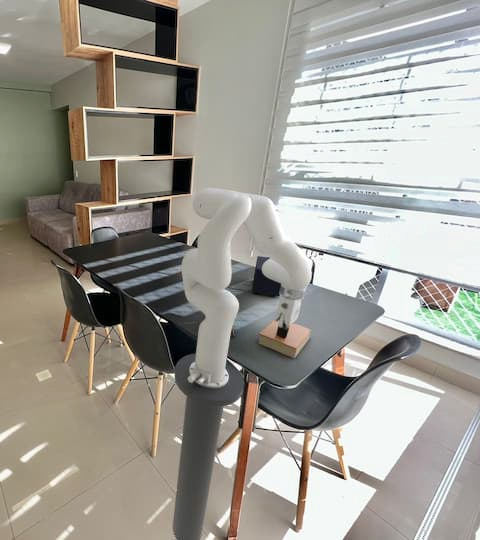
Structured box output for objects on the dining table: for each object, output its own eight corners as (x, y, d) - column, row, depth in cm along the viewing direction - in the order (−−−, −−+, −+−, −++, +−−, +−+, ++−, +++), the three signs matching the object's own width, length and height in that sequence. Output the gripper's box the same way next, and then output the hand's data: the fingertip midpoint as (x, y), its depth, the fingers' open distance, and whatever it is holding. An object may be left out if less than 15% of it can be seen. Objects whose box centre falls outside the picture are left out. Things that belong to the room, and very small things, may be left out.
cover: (296, 350, 99) (296, 348, 99) (259, 334, 108) (259, 333, 108) (311, 330, 111) (311, 329, 110) (276, 318, 119) (276, 317, 119)
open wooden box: (294, 358, 102) (296, 349, 100) (258, 343, 110) (259, 334, 109) (308, 339, 112) (311, 331, 111) (274, 326, 121) (276, 318, 119)
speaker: (253, 279, 166) (257, 254, 161) (278, 283, 161) (283, 257, 155) (251, 294, 148) (256, 267, 143) (279, 299, 143) (285, 271, 137)
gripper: (296, 302, 92) (284, 349, 99) (311, 288, 101) (299, 332, 108) (272, 294, 97) (262, 340, 104) (288, 282, 107) (278, 324, 113)
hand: (281, 336), depth 106 cm, fingers closed
